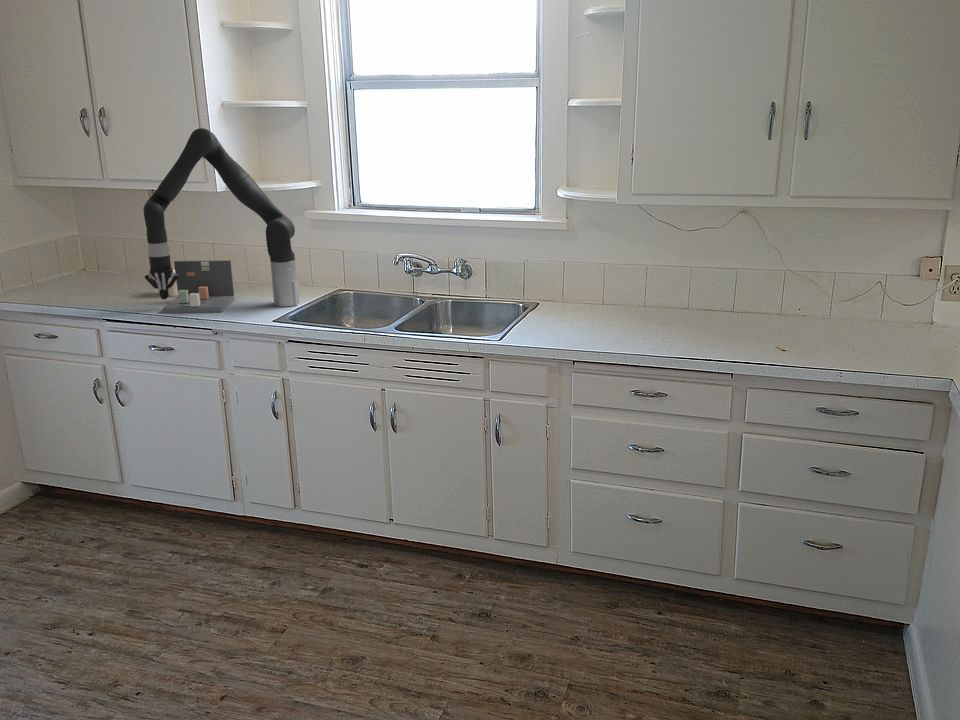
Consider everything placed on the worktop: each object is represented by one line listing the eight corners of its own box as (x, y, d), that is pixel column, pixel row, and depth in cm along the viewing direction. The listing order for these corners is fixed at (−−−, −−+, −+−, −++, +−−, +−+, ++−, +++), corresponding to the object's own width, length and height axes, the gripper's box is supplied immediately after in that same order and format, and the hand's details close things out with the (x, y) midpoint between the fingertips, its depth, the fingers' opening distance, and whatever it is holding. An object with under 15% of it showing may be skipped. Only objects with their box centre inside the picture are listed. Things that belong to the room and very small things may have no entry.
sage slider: (189, 301, 335) (187, 289, 333) (187, 302, 332) (185, 291, 331) (181, 301, 335) (180, 290, 333) (179, 303, 332) (177, 291, 331)
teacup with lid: (187, 292, 358) (184, 265, 355) (174, 298, 350) (171, 269, 346) (162, 291, 361) (158, 263, 358) (148, 296, 353) (145, 268, 350)
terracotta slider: (209, 297, 340) (207, 286, 339) (207, 299, 338) (205, 287, 336) (201, 297, 340) (200, 286, 339) (199, 299, 338) (198, 288, 336)
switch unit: (234, 300, 346) (230, 260, 341) (221, 312, 328) (216, 270, 323) (179, 300, 346) (174, 260, 341) (163, 313, 328) (157, 271, 323)
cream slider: (200, 304, 330) (199, 293, 328) (198, 306, 327) (197, 294, 326) (192, 304, 330) (191, 293, 328) (190, 306, 327) (189, 294, 326)
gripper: (179, 252, 331) (185, 296, 337) (145, 252, 331) (150, 296, 337) (173, 256, 324) (178, 301, 330) (137, 256, 324) (143, 301, 330)
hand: (164, 298), depth 333 cm, fingers closed
